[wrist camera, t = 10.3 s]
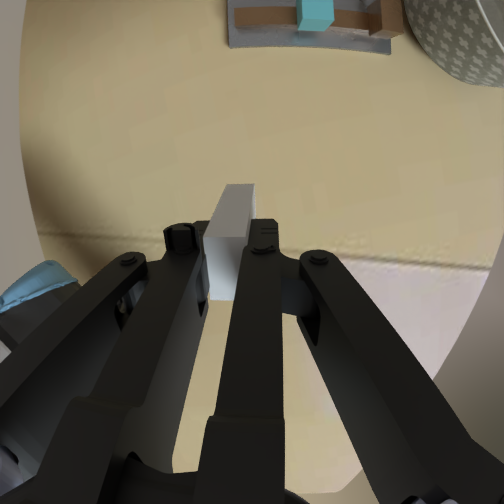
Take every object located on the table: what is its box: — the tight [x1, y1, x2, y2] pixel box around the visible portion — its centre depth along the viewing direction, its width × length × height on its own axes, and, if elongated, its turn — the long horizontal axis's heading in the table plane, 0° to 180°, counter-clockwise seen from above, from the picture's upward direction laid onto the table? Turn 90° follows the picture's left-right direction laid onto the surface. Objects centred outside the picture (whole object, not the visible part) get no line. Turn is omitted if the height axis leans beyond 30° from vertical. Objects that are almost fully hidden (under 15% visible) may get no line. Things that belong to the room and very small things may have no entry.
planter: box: [404, 0, 504, 88], centre depth 19 cm, size 19×19×18 cm
